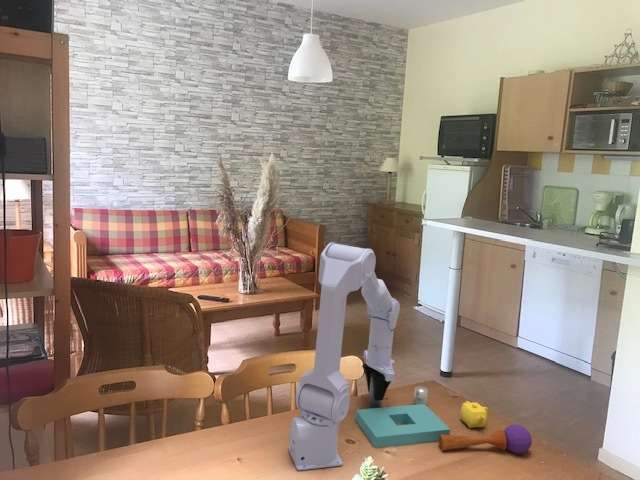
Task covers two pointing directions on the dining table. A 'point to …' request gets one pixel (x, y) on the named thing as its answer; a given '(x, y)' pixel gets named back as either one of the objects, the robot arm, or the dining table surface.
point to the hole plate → (386, 432)
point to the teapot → (474, 414)
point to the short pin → (420, 395)
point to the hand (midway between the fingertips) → (375, 396)
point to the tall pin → (372, 402)
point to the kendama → (492, 440)
